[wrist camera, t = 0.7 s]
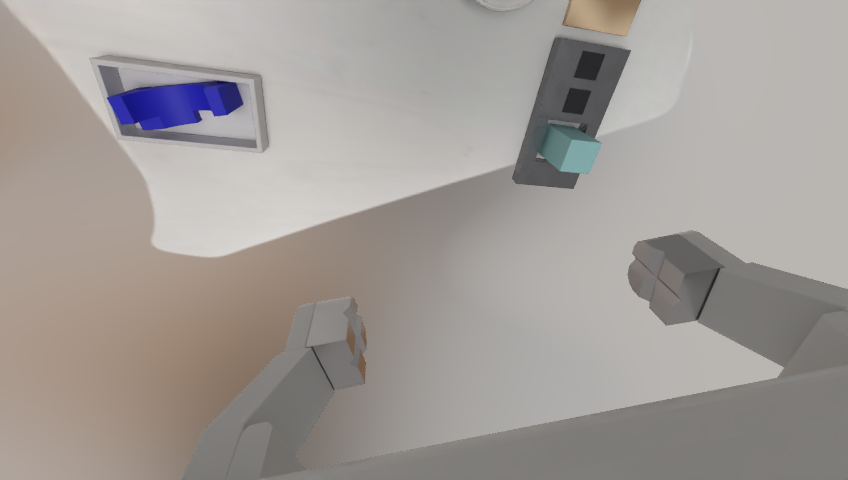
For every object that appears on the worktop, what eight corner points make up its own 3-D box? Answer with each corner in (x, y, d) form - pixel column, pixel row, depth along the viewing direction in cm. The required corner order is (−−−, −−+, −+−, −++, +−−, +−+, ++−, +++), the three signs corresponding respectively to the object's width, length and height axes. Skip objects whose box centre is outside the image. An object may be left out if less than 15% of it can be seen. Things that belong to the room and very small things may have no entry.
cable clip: (156, 124, 45) (128, 137, 40) (138, 87, 43) (106, 97, 38) (247, 115, 46) (231, 127, 41) (235, 79, 43) (216, 87, 38)
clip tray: (107, 55, 40) (89, 58, 38) (260, 75, 43) (253, 79, 41) (132, 132, 45) (117, 139, 43) (268, 146, 48) (262, 153, 46)
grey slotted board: (554, 37, 44) (562, 38, 43) (622, 49, 46) (631, 50, 44) (512, 178, 55) (516, 183, 53) (567, 183, 57) (573, 189, 55)
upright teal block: (546, 123, 51) (571, 139, 44) (573, 126, 52) (601, 143, 45) (537, 151, 53) (559, 171, 47) (562, 154, 54) (588, 174, 47)
